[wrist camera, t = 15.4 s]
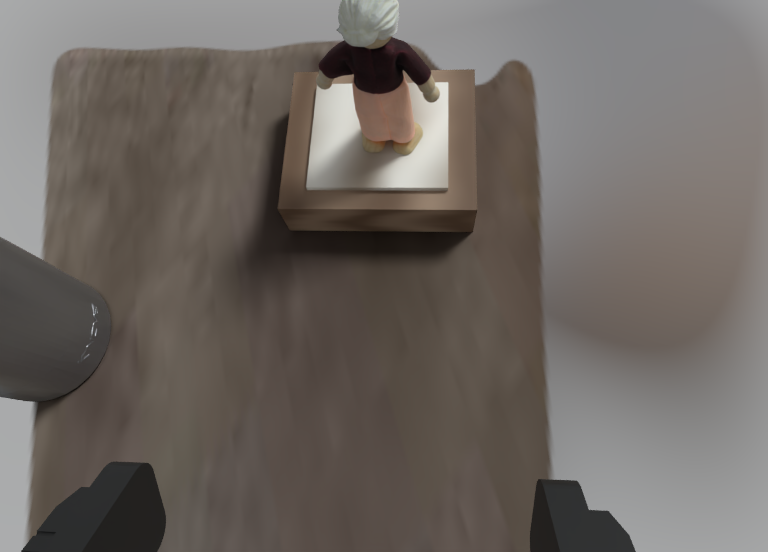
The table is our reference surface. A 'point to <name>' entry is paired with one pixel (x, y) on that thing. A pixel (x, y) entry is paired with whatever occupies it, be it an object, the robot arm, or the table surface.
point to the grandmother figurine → (378, 74)
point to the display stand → (379, 162)
